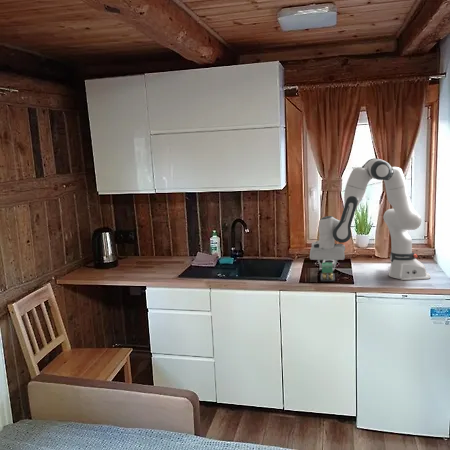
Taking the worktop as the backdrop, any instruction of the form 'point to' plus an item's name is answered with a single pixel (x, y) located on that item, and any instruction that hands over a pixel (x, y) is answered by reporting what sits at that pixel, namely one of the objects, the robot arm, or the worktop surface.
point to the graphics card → (327, 262)
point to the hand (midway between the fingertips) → (327, 266)
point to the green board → (327, 268)
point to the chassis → (327, 277)
